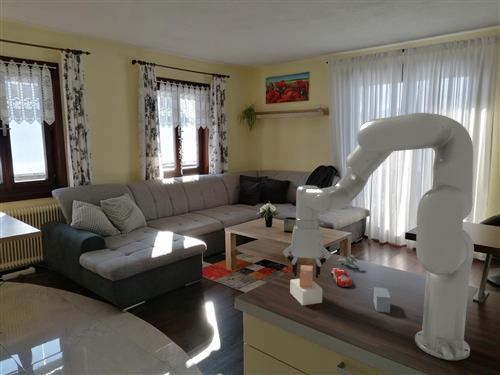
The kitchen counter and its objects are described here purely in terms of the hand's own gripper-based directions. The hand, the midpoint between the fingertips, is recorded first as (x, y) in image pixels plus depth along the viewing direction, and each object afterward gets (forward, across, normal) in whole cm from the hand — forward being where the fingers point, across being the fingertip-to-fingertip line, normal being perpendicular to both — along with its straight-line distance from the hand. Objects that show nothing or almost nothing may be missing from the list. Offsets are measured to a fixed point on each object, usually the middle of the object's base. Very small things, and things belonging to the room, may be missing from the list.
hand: (306, 275), depth 122 cm
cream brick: (+8, 0, 0) cm, 8 cm away
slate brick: (+8, -24, +2) cm, 25 cm away
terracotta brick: (+3, 0, -1) cm, 3 cm away
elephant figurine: (+8, -15, -32) cm, 36 cm away
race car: (+8, -12, -17) cm, 23 cm away
